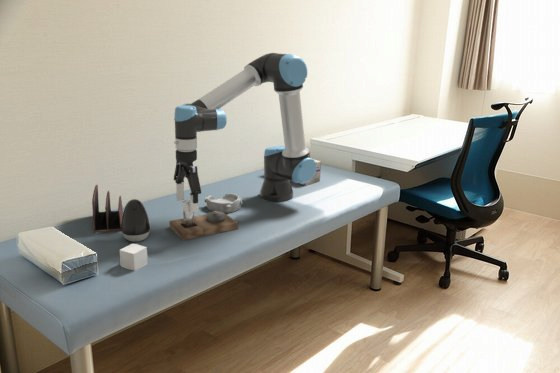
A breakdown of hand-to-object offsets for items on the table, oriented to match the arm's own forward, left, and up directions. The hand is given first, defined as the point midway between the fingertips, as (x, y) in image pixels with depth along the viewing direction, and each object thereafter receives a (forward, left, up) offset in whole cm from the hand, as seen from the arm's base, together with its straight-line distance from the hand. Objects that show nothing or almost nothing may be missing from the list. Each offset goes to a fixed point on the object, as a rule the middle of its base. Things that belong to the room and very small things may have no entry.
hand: (187, 205), depth 193 cm
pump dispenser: (+19, -3, -11) cm, 22 cm away
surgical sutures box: (-74, -40, -11) cm, 85 cm away
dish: (-23, -17, -11) cm, 31 cm away
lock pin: (0, 0, -10) cm, 10 cm away
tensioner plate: (-6, 0, -11) cm, 12 cm away
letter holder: (+23, -24, -11) cm, 35 cm away
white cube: (+26, +17, -11) cm, 33 cm away
